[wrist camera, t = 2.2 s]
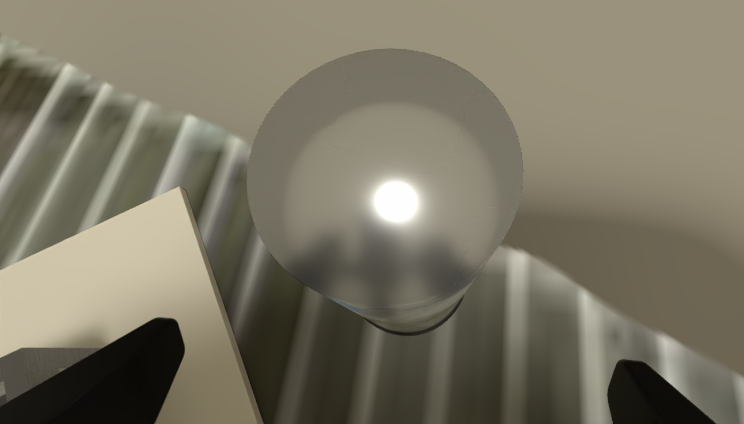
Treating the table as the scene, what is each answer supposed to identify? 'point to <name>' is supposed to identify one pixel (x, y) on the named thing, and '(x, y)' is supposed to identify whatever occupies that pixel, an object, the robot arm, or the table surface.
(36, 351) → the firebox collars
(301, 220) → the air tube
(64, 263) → the tile
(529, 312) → the table surface
